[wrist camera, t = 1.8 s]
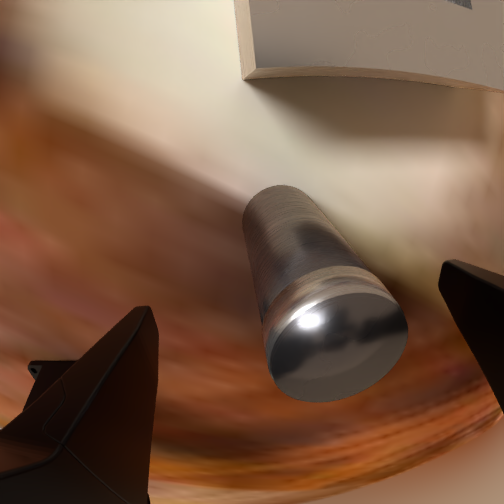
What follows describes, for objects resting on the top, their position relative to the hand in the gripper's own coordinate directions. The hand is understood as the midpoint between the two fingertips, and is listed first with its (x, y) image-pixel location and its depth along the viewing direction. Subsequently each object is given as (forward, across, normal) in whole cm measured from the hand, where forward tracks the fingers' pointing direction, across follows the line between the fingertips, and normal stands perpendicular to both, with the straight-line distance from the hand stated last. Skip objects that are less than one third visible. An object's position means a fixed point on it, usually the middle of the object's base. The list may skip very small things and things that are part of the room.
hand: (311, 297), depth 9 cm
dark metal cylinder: (+6, 0, 0) cm, 6 cm away
